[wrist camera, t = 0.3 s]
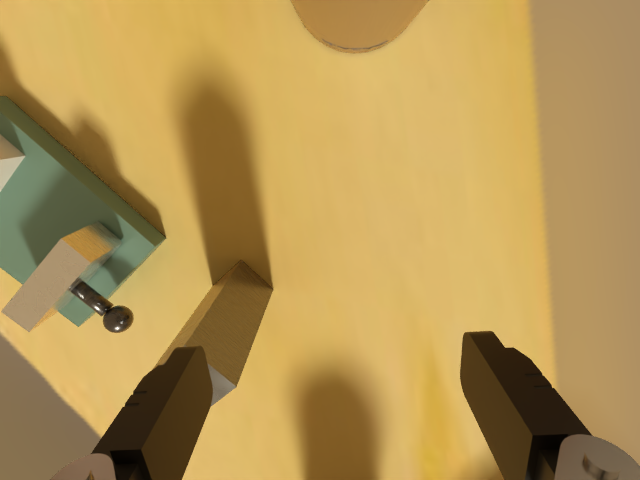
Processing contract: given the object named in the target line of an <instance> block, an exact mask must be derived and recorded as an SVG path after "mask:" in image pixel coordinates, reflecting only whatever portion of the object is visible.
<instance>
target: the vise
mask: <svg viewBox="0 0 640 480" xmlns="http://www.w3.org/2000/svg"><path fill="white" fill-rule="evenodd" d="M97 221H99V222H100V223H101V224H102V225H103V226H104V227H106V228H107V229H108V230H109V231H110V232H111V233H113V234H114V235H115V236H116V237H117V238H118V239H120V240H121V241H122V242H123V243H122V244H121V245H120V246H119V248H118V249H117V250H116V251H115V252H114V253H113V254H112V255H111V256H110V258H109V259H108V260H107V261H106V262H105V263H104V264H103V265H102V266H101V268H100V269H99V270H98V271H97V272H96V273H95V274H94V275H93V276H92V277H91V279H90V280H89V281H88V282H87V284H88V285H89V286H91V287H92V288H93V289H94V290H96V291H97V292H98V293H99V294H101V295H102V296H103V297H104V298H106V299H107V300H108V299H109V298H110V296H111V295H112V294H113V293H114V292H115V291H116V290H117V289H118V288H119V287H120V286H121V285H122V284H123V283H124V282H125V281H126V280H127V279H128V278H129V277H130V276H131V274H132V273H133V272H134V271H135V270H136V269H137V268H138V267H139V266H140V265H141V264H142V263H143V262H144V261H145V260H146V259H147V258H148V257H149V256H150V255H151V254H152V252H153V251H154V250H155V249H156V248H157V247H158V246H159V245H160V244H161V243H162V242H163V241H164V240H165V239H166V237H164V236H163V235H162V234H161V233H160V232H159V231H158V230H157V229H155V228H154V227H153V226H152V225H151V224H150V223H149V222H148V221H146V220H145V219H144V218H143V217H142V216H141V215H140V214H138V213H137V212H136V211H135V210H134V209H133V208H132V207H131V206H129V205H128V204H127V203H126V202H125V201H124V200H123V199H122V198H120V197H119V196H118V195H117V194H116V193H115V192H114V191H113V190H111V189H110V188H109V187H108V186H107V185H106V184H105V183H104V182H102V181H101V180H100V179H99V178H98V177H97V176H96V175H94V174H93V173H92V172H91V171H90V170H89V169H88V168H87V167H85V166H84V165H83V164H82V163H81V162H80V161H79V160H78V159H76V158H75V157H74V156H73V155H72V154H71V153H70V152H69V151H67V150H66V149H65V148H64V147H63V146H62V145H61V144H60V143H58V142H57V141H56V140H55V139H54V138H53V137H52V136H51V135H49V134H48V133H47V132H46V131H45V130H44V129H43V128H41V127H40V126H39V125H38V124H37V123H36V122H35V121H34V120H32V119H31V118H30V117H29V116H28V115H27V114H26V113H25V112H23V111H22V110H21V109H20V108H19V107H18V106H17V105H16V104H14V103H13V102H12V101H11V100H10V99H9V98H8V97H7V96H0V268H2V269H3V270H4V271H6V272H7V273H8V274H10V275H11V276H12V277H13V278H15V279H16V280H17V281H19V282H20V283H21V284H24V283H25V282H26V281H27V279H28V278H29V277H30V276H31V274H32V273H33V272H34V271H35V270H36V268H37V267H38V266H39V265H40V263H41V262H42V261H43V260H44V259H45V257H46V256H47V255H48V254H49V252H50V251H51V250H52V249H53V248H54V246H55V245H56V244H57V243H58V241H59V240H60V239H61V238H63V237H65V236H67V235H69V234H71V233H74V232H76V231H78V230H80V229H82V228H84V227H86V226H89V225H91V224H93V223H95V222H97ZM58 312H59V313H61V314H62V315H63V316H65V317H66V318H67V319H69V320H70V321H71V322H73V323H74V324H75V325H77V326H78V327H79V326H80V325H81V324H83V323H84V322H85V321H86V320H87V319H89V318H90V317H91V316H92V315H93V314H94V313H95V311H94V310H93V309H92V308H90V307H89V306H88V305H86V304H85V303H84V302H83V301H81V300H80V299H79V298H77V297H76V296H74V297H73V298H72V300H71V301H70V302H69V303H68V304H67V305H66V306H65V307H63V308H62V309H61V310H59V311H58Z"/></svg>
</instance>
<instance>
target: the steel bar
mask: <svg viewBox="0 0 640 480" xmlns="http://www.w3.org/2000/svg"><path fill="white" fill-rule="evenodd" d="M272 291H273V289H272V288H271V287H270V286H269V285H268V284H267V283H266V282H265V281H264V280H262V279H261V278H260V277H259V276H258V275H257V274H256V273H255V272H254V271H253V270H252V269H251V268H249V267H248V266H247V265H246V264H245V263H244V262H243V261H242V260H240V261H239V262H238V263H237V264H236V265H235V266H234V267H233V268H232V269H231V270H230V271H228V272H227V273H226V274H225V275H224V276H223V277H222V278H221V279H220V280H219V281H218V282H217V283H216V284H214V285H213V286H212V288H211V289H210V291H209V292H208V293H207V295H206V296H205V297H204V299H203V300H202V302H201V303H200V304H199V306H198V307H197V309H196V310H195V311H194V313H193V314H192V315H191V317H190V318H189V320H188V321H187V322H186V324H185V325H184V327H183V328H182V329H181V331H180V332H179V334H178V335H177V336H176V338H175V339H174V340H173V342H172V343H171V345H170V346H169V347H168V349H167V350H166V352H165V353H164V354H163V356H162V357H161V358H160V360H159V361H158V363H157V364H156V365H155V367H156V366H158V365H164V364H165V363H166V361H167V359H168V358H169V356H170V355H171V353H172V352H173V350H174V349H175V348H176V347H189V346H202V347H203V349H204V351H205V355H206V360H207V364H208V368H209V372H210V377H211V381H212V386H213V397H212V403H211V406H212V405H214V404H215V403H216V402H217V401H219V400H220V399H221V398H223V397H224V396H225V395H226V394H228V393H229V392H230V391H232V390H233V389H234V388H236V387H237V384H238V381H239V379H240V376H241V373H242V371H243V368H244V365H245V363H246V360H247V358H248V355H249V352H250V350H251V347H252V344H253V342H254V339H255V336H256V334H257V331H258V328H259V326H260V323H261V320H262V318H263V315H264V312H265V310H266V307H267V305H268V302H269V299H270V297H271V294H272ZM155 367H154V368H155ZM154 368H153V369H154ZM211 406H210V407H211Z"/></svg>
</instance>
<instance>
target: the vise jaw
mask: <svg viewBox="0 0 640 480" xmlns="http://www.w3.org/2000/svg"><path fill="white" fill-rule="evenodd" d="M122 243H123V242H122V241H121V240H120V239H118V238H117V237H116V236H115V235H114V234H113V233H111V232H110V231H109V230H108V229H107V228H106V227H104V226H103V225H102V224H101V223H100V222H99V221H97V222H95V223H93V224H91V225H89V226H86V227H84V228H82V229H80V230H78V231H76V232H74V233H71V234H69V235H67V236H65V237H63V238H61V239H60V240H59V241H58V243H57V244H56V245H55V246H54V248H53V249H52V250H51V251H50V252H49V254H48V255H47V256H46V257H45V259H44V260H43V261H42V262H41V263H40V265H39V266H38V267H37V268H36V270H35V271H34V272H33V273H32V274H31V276H30V277H29V278H28V279H27V281H26V282H25V283H24V284H23V285H22V287H21V288H20V289H19V290H18V292H17V293H16V294H15V295H14V296H13V298H12V299H11V300H10V301H9V303H8V304H7V305H6V306H5V307H4V309H3V310H2V311H1V312H2V313H4V314H5V315H6V316H8V317H9V318H10V319H12V320H13V321H14V322H16V323H17V324H19V325H20V326H21V327H23V328H24V329H25V330H27V331H28V332H30V331H31V330H33V329H34V328H36V327H37V326H38V325H40V324H41V323H43V322H44V321H45V320H47V319H48V318H49V317H51V316H52V315H54V314H55V313H56V312H58V311H59V310H61V309H62V308H63V307H65V306H66V305H67V304H68V303H69V302H70V301H71V300H72V298H73V297H74V296H76V297H77V298H79V299H80V300H81V301H83V302H84V303H85V304H86V305H88V306H89V307H90V308H92V309H93V310H94V311H95V312H97V313H98V314H99V315H100V316H103V315H104V314H105V315H104V317H103V324H104V327H105V328H106V329H107V330H108V331H110V332H113V333H120V332H123V331H125V330H127V329H128V328H129V327H130V326H131V325H132V323H133V313H132V311H131V310H130V309H129V308H127V307H125V306H115V307H112V306H113V304H112V303H111V302H109V301H108V300H107V299H106V298H104V297H103V296H102V295H101V294H99V293H98V292H97V291H96V290H94V289H93V288H92V287H91V286H89V285H88V284H87V282H88V281H89V280H90V279H91V277H92V276H93V275H94V274H95V273H96V272H97V271H98V270H99V269H100V268H101V266H102V265H103V264H104V263H105V262H106V261H107V260H108V259H109V258H110V256H111V255H112V254H113V253H114V252H115V251H116V250H117V249H118V248H119V246H120V245H121V244H122ZM111 307H112V308H111Z"/></svg>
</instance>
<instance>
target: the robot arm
mask: <svg viewBox="0 0 640 480" xmlns="http://www.w3.org/2000/svg"><path fill="white" fill-rule="evenodd" d="M428 1H429V0H291V2H292V4H293V6H294V8H295V10H296V12H297V14H298V16H299V17H300V19H301V21H302V22H303V24H304V26H305V27H306V28H307V30H308V31H309V32H310V33H311V34H312V35H313V36H314V37H315V38H316V39H317V40H319V41H320V42H322V43H323V44H325V45H326V46H328V47H330V48H333V49H335V50H338V51H341V52H348V53H362V52H369V51H372V50H375V49H378V48H381V47H382V46H384V45H386V44H387V43H389V42H391V41H392V40H394V39H395V38H396V37H397V36H398V35H399V34H400V33H401V32H403V31H404V30H405V29H406V27H407V26H408V25H409V24H410V22H411V21H412V20H413V19H414V18H415V17H416V16H417V14H418V13H419V12H420V11H421V9H422V8H423V7H424V6H425V5H426V3H427V2H428ZM460 379H461V385H462V389H463V393H464V395H465V398H466V400H467V402H468V404H469V406H470V408H471V410H472V412H473V414H474V416H475V419H476V421H477V423H478V425H479V427H480V429H481V431H482V433H483V435H484V437H485V440H486V442H487V444H488V446H489V448H490V450H491V452H492V454H493V456H494V458H495V461H496V463H497V465H498V467H499V469H500V471H501V473H502V475H503V477H504V480H640V466H639V465H638V464H637V462H636V461H635V460H634V459H633V458H632V457H631V456H630V455H628V454H627V453H626V452H625V451H623V450H622V449H620V448H619V447H617V446H616V445H614V444H612V443H610V442H608V441H606V440H603V439H601V438H598V437H594V436H592V435H591V433H590V432H589V431H588V430H587V429H586V427H585V426H584V425H583V424H582V422H581V421H580V420H579V419H578V417H577V416H576V415H575V414H574V412H573V411H572V410H571V409H570V407H569V406H568V405H567V404H566V402H565V401H564V400H563V399H562V397H561V396H560V395H559V394H558V393H557V391H556V390H555V389H554V388H552V385H551V384H550V383H549V381H548V380H547V379H546V378H545V376H542V373H541V371H540V370H539V369H538V368H537V367H536V365H535V364H534V363H533V362H532V360H531V359H530V358H528V357H527V356H525V355H524V354H522V353H521V352H519V351H518V350H516V349H515V348H505V347H504V346H503V344H502V343H501V342H500V340H499V339H498V338H497V336H496V335H495V334H494V333H493V332H492V331H480V332H465V333H464V335H463V342H462V356H461V369H460ZM212 397H213V386H212V381H211V377H210V372H209V368H208V364H207V360H206V355H205V351H204V349H203V347H202V346H189V347H176V348H175V349H174V350H173V352H172V353H171V355H170V356H169V358H168V359H167V361H166V363H165V364H164V365H158V366H156V367H155V368H154V369H153V370H152V371H150V372H149V373H148V374H147V375H146V376H144V377H143V379H142V380H141V381H140V383H139V384H138V386H137V387H136V389H135V390H134V392H133V395H131V396H130V397H129V399H128V400H127V402H126V403H125V407H123V408H122V409H121V411H120V412H119V414H118V415H117V416H116V418H115V419H114V421H113V422H112V424H111V425H110V427H109V428H108V430H107V431H106V432H105V434H104V435H103V437H102V438H101V440H100V441H99V443H98V444H97V446H96V447H95V449H94V450H93V452H92V453H91V454H90V455H87V456H84V457H81V458H78V459H76V460H74V461H73V462H71V463H69V464H68V465H66V466H65V467H63V468H62V469H61V470H60V471H58V472H57V473H56V474H55V475H54V476H53V477H52V478H51V479H50V480H182V478H183V475H184V473H185V470H186V467H187V465H188V462H189V460H190V457H191V455H192V452H193V450H194V447H195V445H196V442H197V440H198V437H199V434H200V432H201V429H202V427H203V424H204V422H205V419H206V417H207V414H208V412H209V409H210V406H211V403H212Z"/></svg>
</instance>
